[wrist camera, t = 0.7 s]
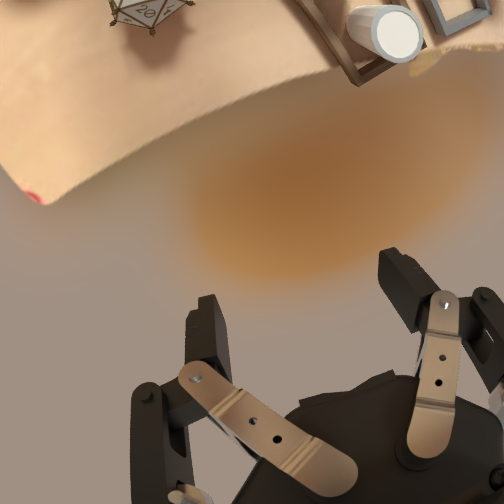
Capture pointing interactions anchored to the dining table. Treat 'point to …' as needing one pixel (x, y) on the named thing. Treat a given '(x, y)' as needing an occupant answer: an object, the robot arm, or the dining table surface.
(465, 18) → the grey hollow rectangular frame
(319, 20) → the wooden picture frame
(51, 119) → the dining table surface
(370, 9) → the white cylinder
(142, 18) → the game die
